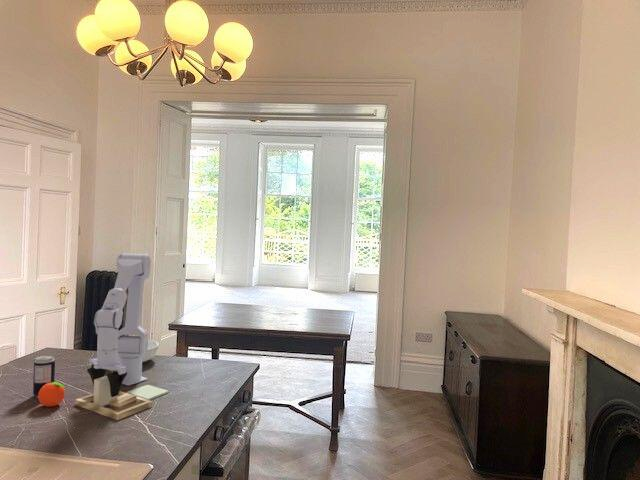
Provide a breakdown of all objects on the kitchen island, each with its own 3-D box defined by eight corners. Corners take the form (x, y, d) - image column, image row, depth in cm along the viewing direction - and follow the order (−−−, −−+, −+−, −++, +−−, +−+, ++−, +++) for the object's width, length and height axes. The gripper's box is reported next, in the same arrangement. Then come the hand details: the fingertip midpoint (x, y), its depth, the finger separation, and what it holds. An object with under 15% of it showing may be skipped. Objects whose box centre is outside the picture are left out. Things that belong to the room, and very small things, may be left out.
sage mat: (126, 393, 149) (126, 391, 149) (147, 386, 157) (147, 384, 157) (147, 400, 144) (147, 398, 144) (168, 392, 152) (168, 390, 152)
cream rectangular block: (93, 406, 139) (94, 379, 138) (114, 398, 145) (114, 373, 145) (98, 407, 138) (98, 381, 137) (118, 400, 144) (119, 374, 144)
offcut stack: (108, 413, 135) (108, 400, 135) (127, 404, 141) (127, 393, 141) (119, 415, 133) (119, 403, 133) (137, 407, 140) (137, 395, 140)
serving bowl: (156, 368, 175) (157, 350, 175) (95, 371, 169) (96, 353, 169) (159, 353, 195) (159, 337, 195) (104, 355, 189) (105, 338, 189)
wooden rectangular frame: (75, 404, 139) (75, 399, 139) (110, 392, 149) (111, 388, 149) (117, 420, 130) (117, 414, 130) (151, 406, 140) (152, 401, 140)
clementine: (73, 402, 141) (73, 379, 141) (58, 411, 134) (59, 387, 134) (47, 400, 141) (48, 377, 141) (32, 409, 135) (32, 385, 134)
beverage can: (58, 394, 147) (59, 356, 146) (41, 400, 141) (41, 361, 141) (46, 390, 149) (47, 353, 149) (28, 396, 144) (29, 358, 143)
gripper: (80, 347, 141) (79, 391, 141) (111, 355, 134) (110, 402, 134) (101, 342, 147) (100, 385, 147) (132, 350, 140) (131, 395, 140)
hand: (106, 393), depth 141 cm, fingers open, 7 cm apart
